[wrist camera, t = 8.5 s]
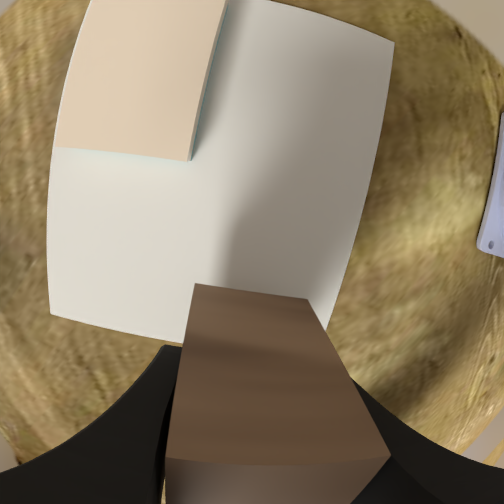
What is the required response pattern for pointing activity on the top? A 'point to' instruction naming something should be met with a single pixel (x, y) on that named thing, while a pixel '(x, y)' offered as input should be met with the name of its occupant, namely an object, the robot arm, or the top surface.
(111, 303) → the mat
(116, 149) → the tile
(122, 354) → the top surface
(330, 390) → the walnut block
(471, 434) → the top surface
